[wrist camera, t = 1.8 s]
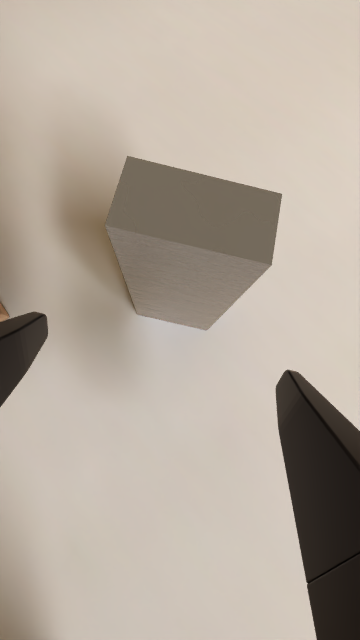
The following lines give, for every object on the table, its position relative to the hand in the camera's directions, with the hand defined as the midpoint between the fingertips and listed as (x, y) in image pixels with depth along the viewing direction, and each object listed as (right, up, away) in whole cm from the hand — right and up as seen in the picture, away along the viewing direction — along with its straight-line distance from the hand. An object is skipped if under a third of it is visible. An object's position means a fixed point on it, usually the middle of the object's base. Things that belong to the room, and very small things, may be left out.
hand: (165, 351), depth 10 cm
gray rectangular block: (0, +2, +13) cm, 13 cm away
